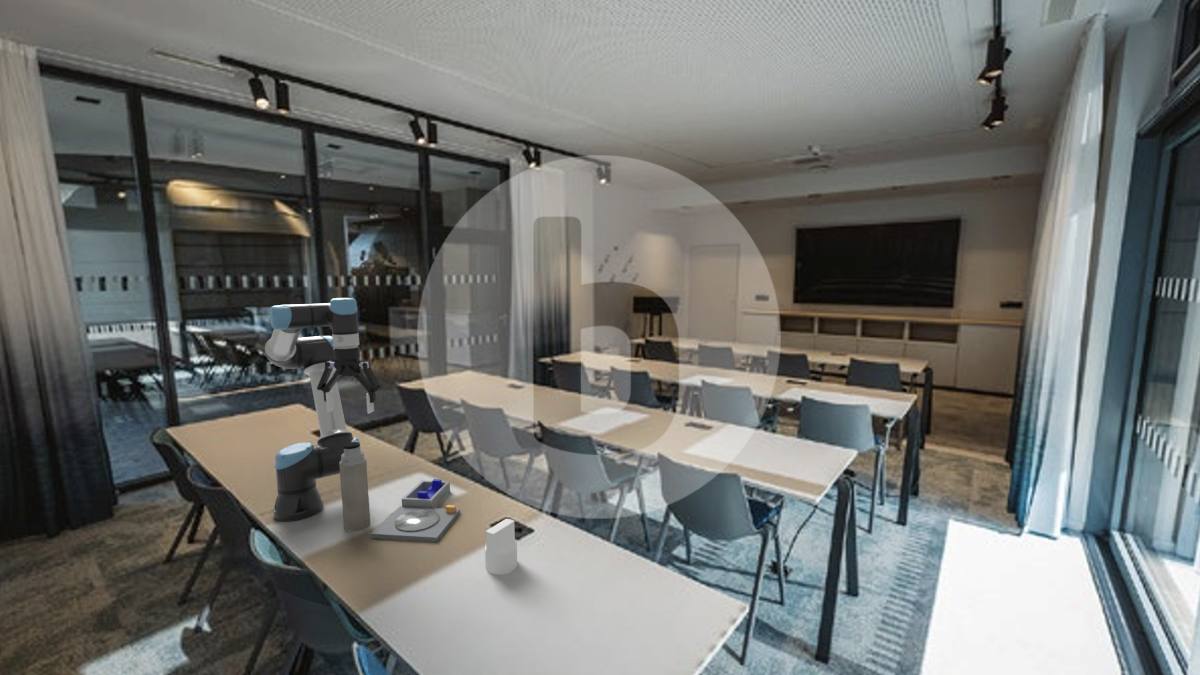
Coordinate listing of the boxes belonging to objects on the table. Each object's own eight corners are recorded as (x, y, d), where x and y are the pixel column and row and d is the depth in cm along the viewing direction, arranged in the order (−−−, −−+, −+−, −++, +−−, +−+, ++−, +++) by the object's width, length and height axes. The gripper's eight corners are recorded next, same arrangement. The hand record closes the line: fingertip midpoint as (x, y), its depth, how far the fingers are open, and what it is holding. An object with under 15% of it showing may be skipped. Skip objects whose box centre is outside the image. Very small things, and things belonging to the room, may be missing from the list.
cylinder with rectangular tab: (502, 578, 141) (501, 537, 139) (478, 568, 146) (477, 528, 144) (523, 562, 148) (522, 523, 147) (500, 553, 153) (499, 515, 152)
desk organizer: (402, 509, 181) (401, 498, 181) (422, 490, 197) (422, 480, 196) (431, 511, 180) (431, 500, 179) (450, 491, 196) (449, 481, 195)
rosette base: (370, 538, 162) (369, 527, 162) (400, 510, 181) (399, 500, 180) (437, 542, 160) (436, 531, 159) (460, 513, 178) (459, 503, 178)
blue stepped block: (431, 493, 194) (430, 478, 194) (442, 494, 194) (441, 479, 193) (414, 508, 183) (413, 492, 182) (426, 509, 182) (425, 493, 181)
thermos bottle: (358, 517, 176) (353, 438, 172) (375, 522, 172) (370, 441, 169) (338, 527, 168) (332, 445, 165) (355, 533, 165) (349, 449, 161)
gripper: (301, 348, 160) (306, 414, 163) (377, 349, 158) (381, 416, 161) (316, 344, 168) (321, 407, 170) (389, 345, 165) (393, 409, 168)
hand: (350, 411), depth 166 cm, fingers open, 13 cm apart
